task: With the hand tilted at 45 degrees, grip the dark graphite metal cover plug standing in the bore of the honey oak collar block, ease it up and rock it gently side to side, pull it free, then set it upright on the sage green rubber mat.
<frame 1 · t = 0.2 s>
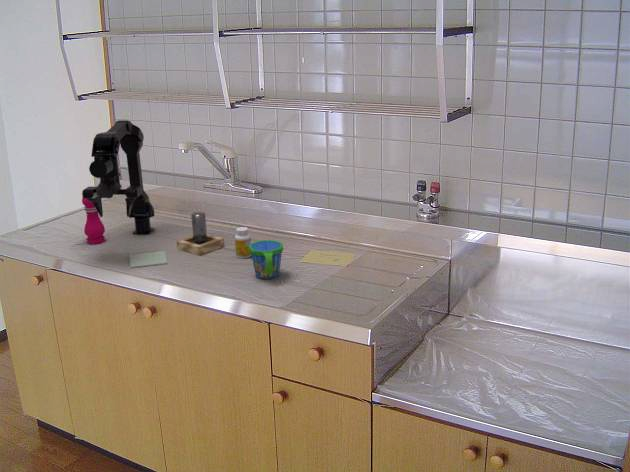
hand: (114, 216, 236), 15 cm above the table, tool pointing down, fingers open, 9 cm apart
pepper mill: (96, 242, 258), on the table
cover plug: (199, 231, 246), in the collar block
rubber mat: (148, 260, 237), on the table
supplement bottle: (243, 256, 239), on the table
collar block: (201, 247, 248), on the table
snack cup: (267, 276, 221), on the table
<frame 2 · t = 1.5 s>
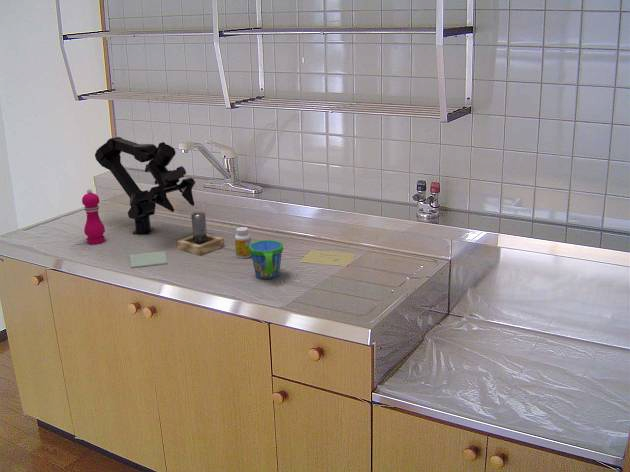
hand: (183, 208, 248), 13 cm above the table, tool tilted 45°, fingers open, 9 cm apart
nothing on the table moved.
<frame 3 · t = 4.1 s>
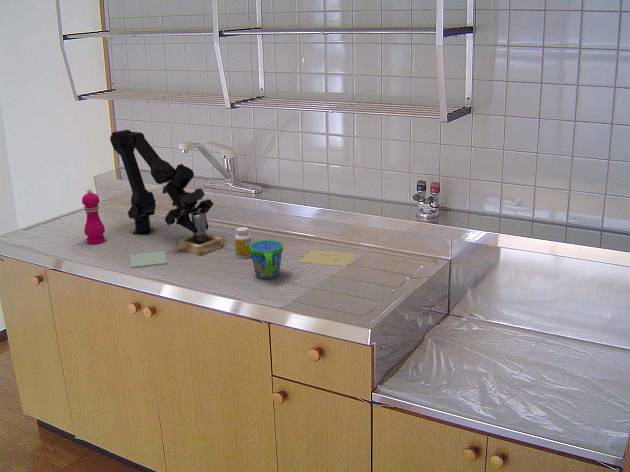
hand: (202, 230, 245), 7 cm above the table, tool tilted 45°, fingers closed on cover plug, 5 cm apart
cover plug: (199, 231, 246), in the collar block, touching gripper
everything else where it was.
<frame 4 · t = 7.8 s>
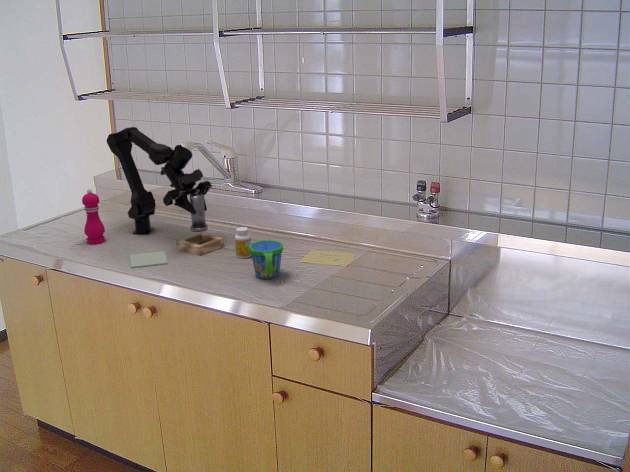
hand: (200, 212, 243), 13 cm above the table, tool tilted 45°, fingers closed on cover plug, 5 cm apart
cover plug: (197, 212, 244), point 13 cm above the table, touching gripper
everything else where it was.
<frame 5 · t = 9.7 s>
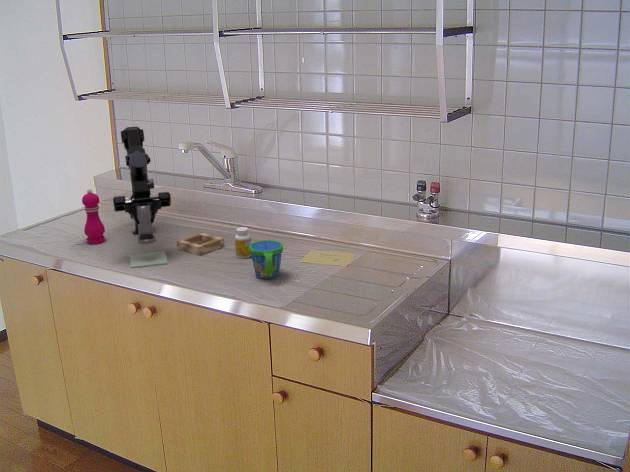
hand: (145, 223, 232), 13 cm above the table, tool tilted 45°, fingers closed on cover plug, 5 cm apart
cover plug: (145, 223, 233), point 13 cm above the table, touching gripper
everything else where it was.
when the fingers open (8 cm above the table, at t = 11.4 s): cover plug stays where it is, resting on rubber mat.
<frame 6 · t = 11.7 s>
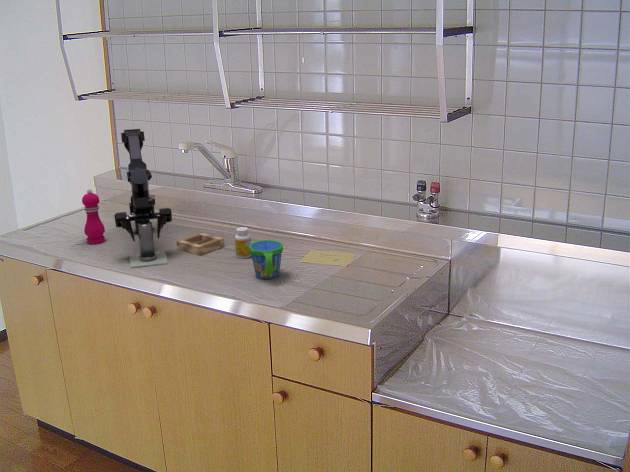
hand: (146, 239, 233), 8 cm above the table, tool tilted 45°, fingers open, 8 cm apart
cover plug: (146, 241, 235), on the rubber mat
everything else where it was.
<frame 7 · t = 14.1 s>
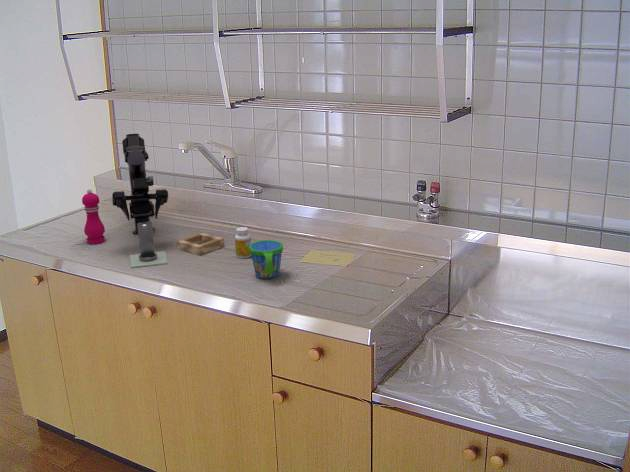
hand: (142, 219, 240), 12 cm above the table, tool tilted 40°, fingers open, 9 cm apart
nothing on the table moved.
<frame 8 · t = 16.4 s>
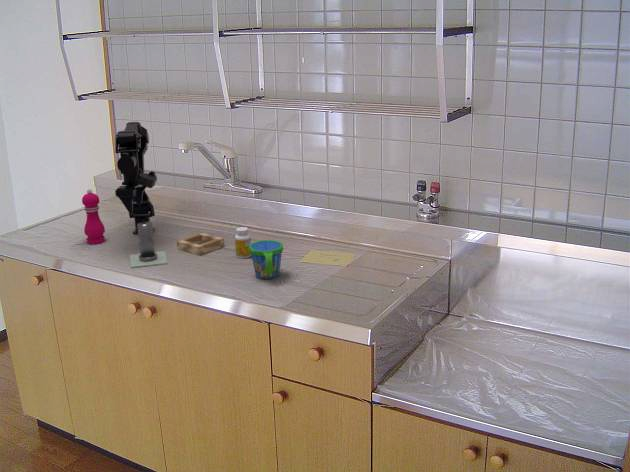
hand: (135, 209, 250), 13 cm above the table, tool pointing down, fingers open, 9 cm apart
nothing on the table moved.
at the end: cover plug inside the target area on the rubber mat (0.1 cm from its centre), point 6.7 cm above the rubber mat's base; cover plug tilted 0°; the gripper is holding nothing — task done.
